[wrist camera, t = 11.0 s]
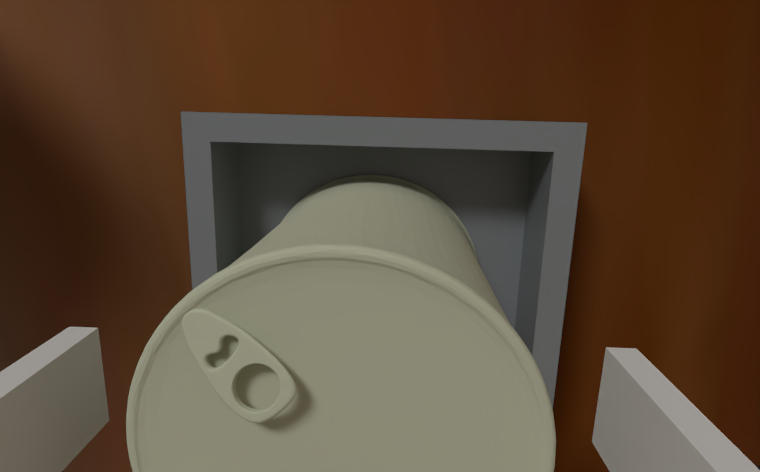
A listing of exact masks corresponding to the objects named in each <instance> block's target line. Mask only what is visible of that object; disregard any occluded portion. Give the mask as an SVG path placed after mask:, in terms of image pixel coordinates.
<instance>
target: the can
mask: <svg viewBox="0 0 760 472" xmlns="http://www.w3.org/2000/svg"><path fill="white" fill-rule="evenodd" d="M126 435H127V446H128V454H129V458H130V463H131V467H132V470H133V472H554V467H555V453H556V433H555V424H554V416H553V411H552V406H551V401H550V397H549V394H548V391H547V388H546V385H545V382H544V379H543V377H542V375H541V372H540V370H539V368H538V366H537V364H536V362H535V360H534V358H533V356H532V355H531V353H530V351H529V350H528V348H527V346H526V345H525V343H524V342H523V340H522V339H521V337H520V336H519V335H518V333H517V332H516V331H515V330H514V328H513V327H512V326H511V324H510V323H509V321H508V319H507V317H506V315H505V313H504V312H503V310H502V308H501V306H500V304H499V302H498V300H497V298H496V296H495V294H494V292H493V291H492V289H491V287H490V285H489V283H488V281H487V279H486V277H485V275H484V273H483V271H482V269H481V267H480V265H479V263H478V258H477V254H476V250H475V247H474V245H473V242H472V239H471V237H470V235H469V233H468V231H467V229H466V228H465V226H464V224H463V223H462V221H461V220H460V219H459V217H458V216H457V215H456V214H455V213H454V211H453V210H452V209H451V208H450V207H449V206H448V205H447V204H446V203H445V202H444V201H442V200H441V199H440V198H438V197H437V196H436V195H435V194H433V193H431V192H430V191H428V190H427V189H425V188H423V187H421V186H419V185H417V184H414V183H412V182H409V181H407V180H403V179H400V178H396V177H391V176H385V175H356V176H350V177H345V178H341V179H338V180H335V181H332V182H330V183H327V184H325V185H323V186H321V187H319V188H317V189H316V190H314V191H312V192H311V193H309V194H308V195H306V196H305V197H304V198H302V199H301V200H300V201H299V202H298V203H297V204H296V205H295V206H294V207H293V208H292V209H291V210H290V211H289V212H288V213H287V215H286V216H285V218H284V219H283V220H282V222H281V223H280V224H279V225H278V226H277V227H276V228H274V229H273V230H272V231H271V232H270V233H269V234H267V235H266V236H265V237H264V238H263V239H262V240H260V241H259V242H258V243H257V244H256V245H254V246H253V247H252V248H251V249H250V250H248V251H247V252H246V253H245V254H243V255H242V256H241V257H239V258H238V259H237V260H236V261H234V262H233V263H232V264H231V265H229V266H228V267H227V268H225V269H223V270H221V271H220V272H218V273H216V274H214V275H213V276H211V277H210V278H209V279H207V280H206V281H204V282H203V283H201V284H200V285H198V286H197V287H196V288H194V289H193V290H192V291H190V292H189V293H188V294H187V295H186V296H185V297H184V298H183V299H182V300H181V301H179V302H178V303H177V304H176V305H175V306H174V307H173V309H172V310H171V311H170V312H169V313H168V314H167V315H166V317H165V318H164V319H163V321H162V322H161V323H160V325H159V326H158V327H157V329H156V330H155V332H154V333H153V335H152V336H151V338H150V340H149V341H148V343H147V344H146V347H145V349H144V351H143V353H142V355H141V357H140V359H139V362H138V364H137V367H136V370H135V373H134V376H133V379H132V383H131V386H130V391H129V396H128V404H127V415H126Z"/></svg>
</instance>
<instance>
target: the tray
mask: <svg viewBox="0 0 760 472" xmlns="http://www.w3.org/2000/svg"><path fill="white" fill-rule="evenodd" d="M181 125H182V140H183V155H184V170H185V186H186V201H187V216H188V231H189V247H190V262H191V277H192V290H193V289H194V288H196V287H197V286H198V285H200V284H201V283H203V282H204V281H206V280H207V279H209V278H210V277H211V276H213V275H214V274H216V273H218V272H220V271H221V270H223V269H225V268H227V267H228V266H229V265H231V264H232V263H233V262H234V261H236V260H237V259H238V258H239V257H241V256H242V255H243V254H245V253H246V252H247V251H248V250H250V249H251V248H252V247H253V246H254V245H256V244H257V243H258V242H259V241H260V240H262V239H263V238H264V237H265V236H266V235H267V234H269V233H270V232H271V231H272V230H273V229H274V228H276V227H277V226H278V225H279V224H280V223H281V222H282V220H283V219H284V218H285V216H286V215H287V213H288V212H289V211H290V210H291V209H292V208H293V207H294V206H295V205H296V204H297V203H298V202H299V201H300V200H301V199H302V198H304V197H305V196H306V195H308V194H309V193H311V192H312V191H314V190H316V189H317V188H319V187H321V186H323V185H325V184H327V183H330V182H332V181H335V180H338V179H341V178H345V177H350V176H356V175H385V176H391V177H396V178H400V179H403V180H407V181H409V182H412V183H414V184H417V185H419V186H421V187H423V188H425V189H427V190H428V191H430V192H431V193H433V194H435V195H436V196H437V197H438V198H440V199H441V200H442V201H444V202H445V203H446V204H447V205H448V206H449V207H450V208H451V209H452V210H453V211H454V213H455V214H456V215H457V216H458V217H459V219H460V220H461V221H462V223H463V224H464V226H465V228H466V229H467V231H468V233H469V235H470V237H471V239H472V242H473V245H474V247H475V250H476V254H477V258H478V263H479V265H480V267H481V269H482V271H483V273H484V275H485V277H486V279H487V281H488V283H489V285H490V287H491V289H492V291H493V292H494V294H495V296H496V298H497V300H498V302H499V304H500V306H501V308H502V310H503V312H504V313H505V315H506V317H507V319H508V321H509V323H510V324H511V326H512V327H513V328H514V330H515V331H516V332H517V333H518V335H519V336H520V337H521V339H522V340H523V342H524V343H525V345H526V346H527V348H528V350H529V351H530V353H531V355H532V356H533V358H534V360H535V362H536V364H537V366H538V368H539V370H540V372H541V375H542V377H543V379H544V382H545V385H546V388H547V391H548V394H549V397H550V401H551V406H552V410H553V402H554V394H555V385H556V377H557V369H558V361H559V352H560V344H561V336H562V328H563V319H564V311H565V303H566V295H567V287H568V278H569V270H570V262H571V254H572V245H573V237H574V229H575V221H576V212H577V204H578V196H579V188H580V180H581V171H582V163H583V155H584V147H585V138H586V130H587V123H576V122H540V121H503V120H467V119H430V118H394V117H357V116H321V115H284V114H248V113H211V112H181Z"/></svg>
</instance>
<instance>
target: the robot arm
mask: <svg viewBox="0 0 760 472" xmlns="http://www.w3.org/2000/svg"><path fill="white" fill-rule="evenodd" d="M108 421H109V413H108V405H107V396H106V388H105V380H104V372H103V364H102V355H101V347H100V339H99V331H98V328H92V327H68V328H66V329H65V330H63V331H62V332H60V333H59V334H57V335H56V336H54V337H53V338H51V339H50V340H48V341H47V342H45V343H44V344H42V345H41V346H39V347H37V348H36V349H34V350H33V351H31V352H30V353H28V354H27V355H25V356H24V357H22V358H21V359H19V360H18V361H16V362H15V363H13V364H12V365H10V366H8V367H7V368H5V369H4V370H2V371H1V372H0V472H62V471H63V470H64V469H65V468H66V467H67V466H68V464H69V463H70V462H71V461H72V460H73V459H74V458H75V457H76V456H77V455H78V454H79V453H80V452H81V450H82V449H83V448H84V447H85V446H86V445H87V444H88V443H89V442H90V441H91V440H92V439H93V438H94V437H95V435H96V434H97V433H98V432H99V431H100V430H101V429H102V428H103V427H104V426H105V425H106V424H107V423H108ZM592 443H593V444H594V446H595V448H596V449H597V451H598V453H599V454H600V456H601V458H602V459H603V461H604V463H605V464H606V466H607V468H608V470H609V471H610V472H760V466H756V465H754V464H753V463H752V462H751V461H750V460H749V459H748V458H747V457H746V456H745V455H744V454H743V453H742V452H741V451H740V450H739V449H738V448H737V447H736V446H735V445H734V444H733V443H732V442H731V441H730V440H729V439H728V438H727V437H726V436H725V435H724V434H723V433H722V432H721V431H720V430H719V429H717V428H716V427H715V426H714V425H713V424H712V423H711V422H710V421H709V420H708V419H707V418H706V417H705V416H704V415H703V414H702V413H701V412H700V411H699V410H698V409H697V408H696V407H695V406H694V405H693V404H692V403H691V402H690V401H689V400H688V399H687V398H686V397H685V396H684V395H683V394H682V393H681V392H680V391H679V390H678V389H677V388H676V387H675V386H674V385H673V384H672V383H671V382H670V381H669V380H668V379H667V378H666V377H665V376H664V375H663V374H662V373H661V372H660V371H659V370H658V369H657V368H656V367H655V366H654V365H653V364H652V363H651V362H650V361H649V360H648V359H647V358H646V357H645V356H644V355H643V354H641V353H640V352H639V351H638V350H637V349H634V348H608V347H606V351H605V358H604V364H603V371H602V378H601V384H600V391H599V398H598V404H597V411H596V418H595V424H594V431H593V437H592Z"/></svg>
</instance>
